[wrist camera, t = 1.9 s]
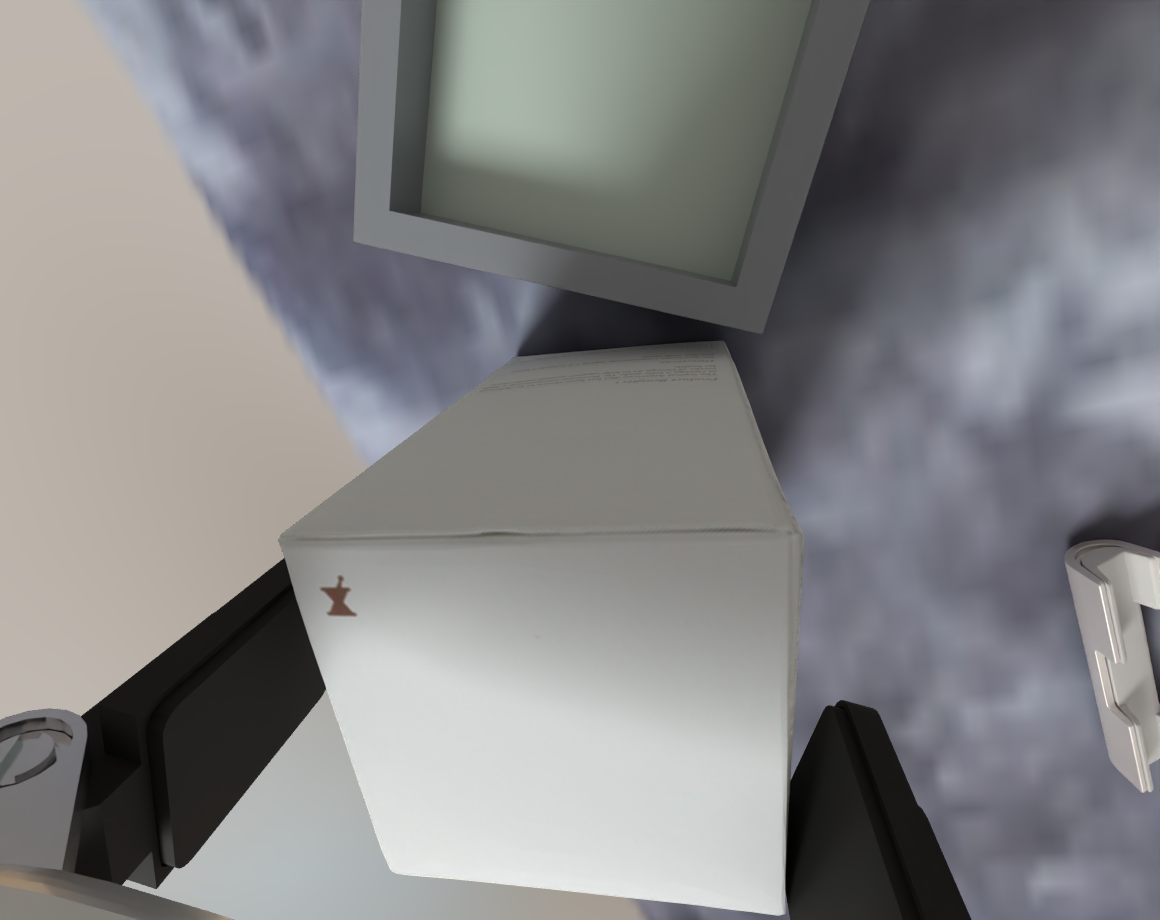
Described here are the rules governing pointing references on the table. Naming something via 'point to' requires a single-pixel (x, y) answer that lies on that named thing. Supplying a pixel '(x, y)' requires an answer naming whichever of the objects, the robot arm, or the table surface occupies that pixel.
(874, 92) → the table surface
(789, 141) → the tray
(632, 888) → the supplement box
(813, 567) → the table surface
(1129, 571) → the portable electronic device stand
